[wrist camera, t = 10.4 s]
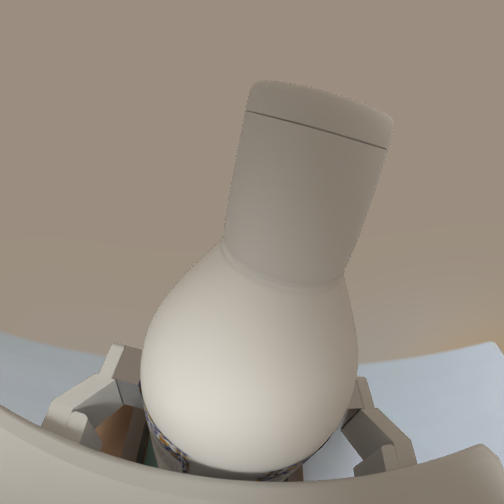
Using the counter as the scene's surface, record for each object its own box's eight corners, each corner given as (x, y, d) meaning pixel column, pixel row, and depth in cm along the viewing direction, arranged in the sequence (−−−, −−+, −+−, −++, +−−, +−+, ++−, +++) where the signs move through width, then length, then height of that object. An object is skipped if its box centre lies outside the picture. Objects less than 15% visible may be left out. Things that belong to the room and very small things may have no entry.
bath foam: (272, 439, 18) (415, 136, 8) (257, 523, 11) (574, 207, 2) (178, 414, 18) (210, 82, 8) (147, 495, 12) (44, 58, 2)
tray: (60, 504, 11) (36, 492, 9) (96, 392, 21) (85, 364, 19) (297, 545, 12) (321, 543, 10) (291, 427, 23) (307, 404, 21)
